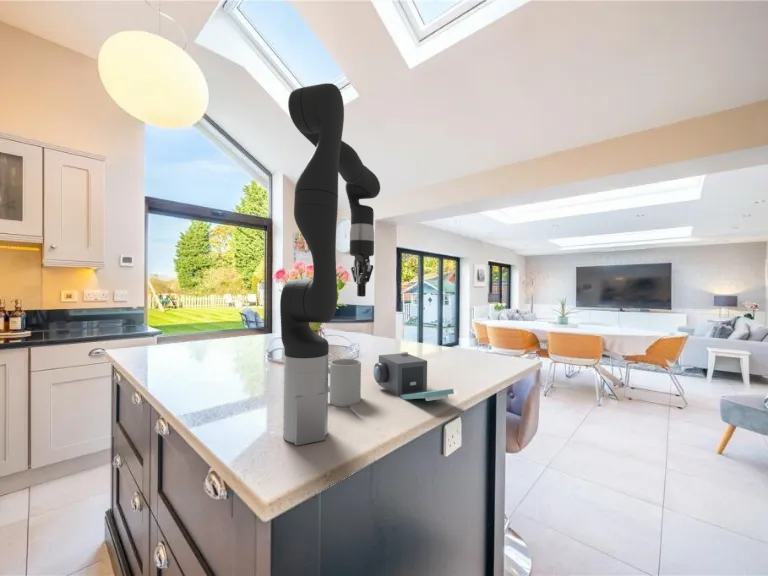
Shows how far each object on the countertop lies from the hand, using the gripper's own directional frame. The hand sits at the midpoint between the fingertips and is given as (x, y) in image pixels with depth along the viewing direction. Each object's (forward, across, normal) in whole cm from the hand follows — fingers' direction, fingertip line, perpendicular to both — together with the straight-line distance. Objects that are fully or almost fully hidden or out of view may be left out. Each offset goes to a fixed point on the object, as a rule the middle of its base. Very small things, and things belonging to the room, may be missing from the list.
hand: (361, 296), depth 102 cm
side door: (+28, -12, -12) cm, 33 cm away
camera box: (+29, -5, -11) cm, 31 cm away
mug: (+29, -7, +9) cm, 31 cm away
